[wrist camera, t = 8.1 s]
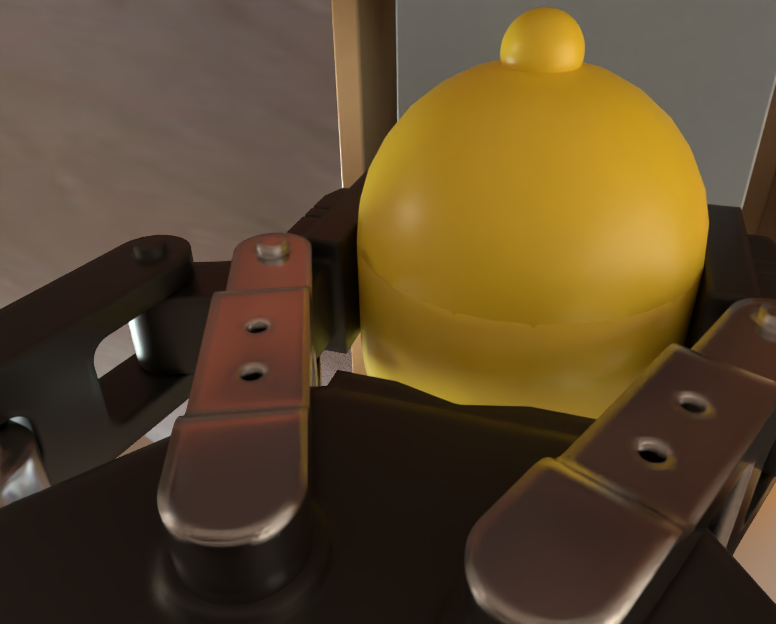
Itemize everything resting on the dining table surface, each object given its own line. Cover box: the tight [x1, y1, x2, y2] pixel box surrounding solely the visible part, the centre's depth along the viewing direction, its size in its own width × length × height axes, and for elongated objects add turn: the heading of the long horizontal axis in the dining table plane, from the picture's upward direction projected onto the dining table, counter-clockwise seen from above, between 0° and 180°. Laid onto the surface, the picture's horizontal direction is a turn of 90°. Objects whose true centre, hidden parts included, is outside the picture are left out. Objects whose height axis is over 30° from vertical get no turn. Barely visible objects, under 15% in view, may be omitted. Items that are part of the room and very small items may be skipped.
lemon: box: [357, 7, 709, 419], centre depth 12 cm, size 9×6×6 cm, turn 0°
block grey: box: [396, 0, 776, 209], centre depth 20 cm, size 8×8×8 cm
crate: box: [331, 0, 776, 375], centre depth 23 cm, size 18×14×6 cm
